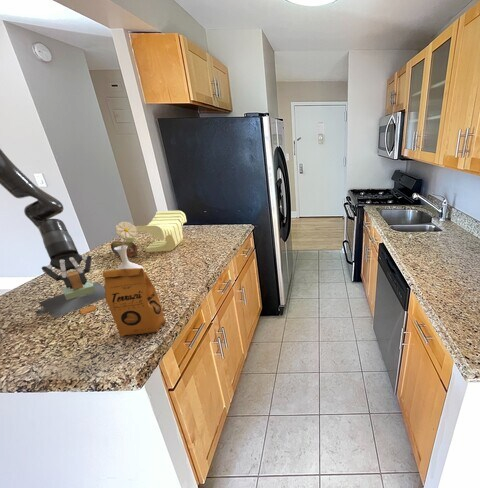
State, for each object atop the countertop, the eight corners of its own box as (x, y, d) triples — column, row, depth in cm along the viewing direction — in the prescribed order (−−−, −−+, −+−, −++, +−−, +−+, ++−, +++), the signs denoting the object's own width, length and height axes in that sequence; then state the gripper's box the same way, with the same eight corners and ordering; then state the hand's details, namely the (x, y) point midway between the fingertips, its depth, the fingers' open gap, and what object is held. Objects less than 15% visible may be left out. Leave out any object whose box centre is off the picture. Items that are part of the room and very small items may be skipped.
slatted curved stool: (169, 256, 138) (161, 225, 132) (137, 258, 137) (127, 226, 130) (190, 237, 166) (184, 210, 159) (163, 238, 164) (157, 211, 158)
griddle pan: (46, 325, 87) (45, 322, 87) (30, 308, 96) (29, 305, 96) (123, 293, 106) (123, 290, 105) (104, 281, 114) (103, 279, 114)
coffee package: (157, 336, 82) (138, 275, 74) (114, 340, 81) (90, 278, 72) (170, 316, 91) (154, 260, 83) (132, 320, 90) (112, 263, 82)
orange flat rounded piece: (83, 317, 91) (81, 314, 90) (81, 313, 93) (79, 309, 93) (97, 312, 94) (96, 308, 93) (95, 307, 96) (93, 304, 96)
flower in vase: (116, 284, 112) (98, 229, 103) (111, 275, 120) (93, 223, 110) (151, 273, 121) (136, 222, 112) (144, 265, 128) (130, 217, 119)
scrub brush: (66, 300, 91) (58, 280, 88) (63, 293, 94) (55, 274, 90) (95, 291, 97) (88, 272, 93) (92, 285, 100) (85, 266, 96)
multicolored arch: (112, 255, 140) (107, 240, 137) (118, 253, 143) (113, 238, 140) (135, 258, 137) (130, 243, 134) (140, 255, 140) (136, 241, 137)
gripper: (29, 246, 87) (48, 290, 85) (84, 235, 97) (102, 274, 95) (34, 256, 93) (52, 297, 90) (85, 245, 102) (103, 282, 100)
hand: (77, 285), depth 92 cm, fingers closed on scrub brush, 3 cm apart
